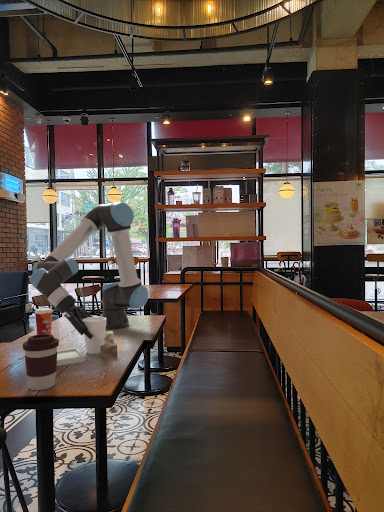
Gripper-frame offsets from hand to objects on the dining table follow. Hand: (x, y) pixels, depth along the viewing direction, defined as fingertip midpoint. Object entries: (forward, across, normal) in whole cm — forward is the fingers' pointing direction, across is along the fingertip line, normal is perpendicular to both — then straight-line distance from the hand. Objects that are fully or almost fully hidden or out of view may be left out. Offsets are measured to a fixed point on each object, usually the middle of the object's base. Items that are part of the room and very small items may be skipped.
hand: (102, 339), depth 142 cm
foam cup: (+1, 0, -6) cm, 6 cm away
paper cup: (-20, -19, -26) cm, 38 cm away
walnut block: (+7, +7, 0) cm, 10 cm away
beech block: (+2, -14, -5) cm, 14 cm away
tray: (-5, +11, -12) cm, 17 cm away
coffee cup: (-2, +36, -9) cm, 37 cm away
